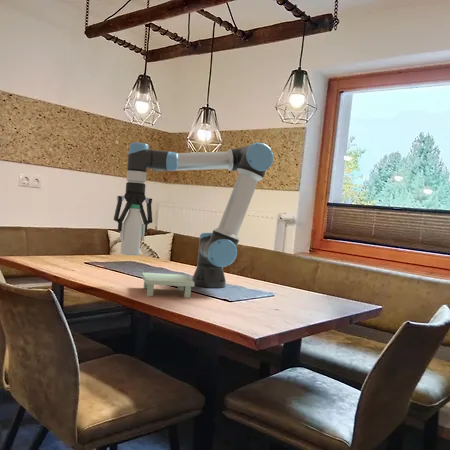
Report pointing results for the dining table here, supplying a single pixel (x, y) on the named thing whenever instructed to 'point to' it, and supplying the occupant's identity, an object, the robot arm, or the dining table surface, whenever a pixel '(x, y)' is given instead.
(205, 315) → the dining table surface
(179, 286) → the footstool
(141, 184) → the robot arm
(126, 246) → the milk bottle
